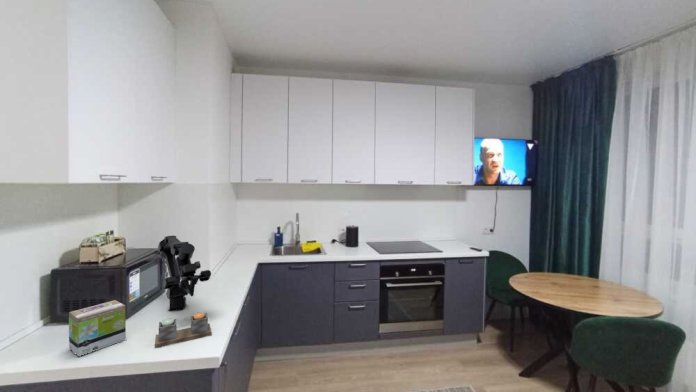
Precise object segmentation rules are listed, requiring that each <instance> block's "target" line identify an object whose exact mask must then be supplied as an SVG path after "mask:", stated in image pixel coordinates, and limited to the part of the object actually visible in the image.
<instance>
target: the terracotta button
mask: <svg viewBox="0 0 696 392" xmlns="http://www.w3.org/2000/svg"><path fill="white" fill-rule="evenodd" d="M205 313H206V312H203V311H198V312H196V313H194V314H193V315H194V320H199V319H204V318H205Z"/></svg>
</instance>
